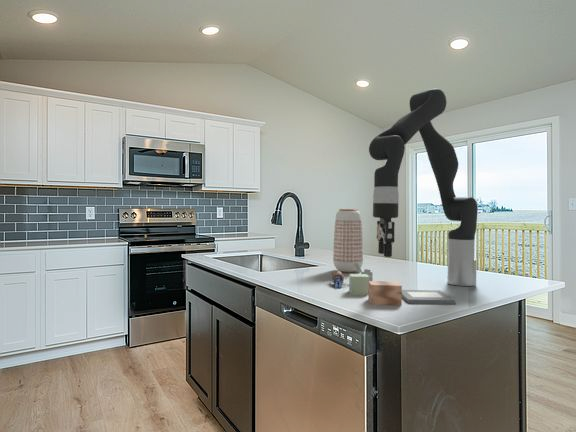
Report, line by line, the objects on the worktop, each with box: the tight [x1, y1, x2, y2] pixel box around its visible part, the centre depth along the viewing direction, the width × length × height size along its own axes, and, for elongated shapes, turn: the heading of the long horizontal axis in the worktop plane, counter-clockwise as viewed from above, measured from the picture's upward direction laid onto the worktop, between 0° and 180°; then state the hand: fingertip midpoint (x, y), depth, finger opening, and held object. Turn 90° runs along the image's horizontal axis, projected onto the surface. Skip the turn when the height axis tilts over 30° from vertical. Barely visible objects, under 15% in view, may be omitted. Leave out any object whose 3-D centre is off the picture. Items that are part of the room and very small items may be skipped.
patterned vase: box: [332, 208, 364, 274], centre depth 175 cm, size 13×13×28 cm
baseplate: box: [402, 289, 457, 305], centre depth 124 cm, size 14×14×1 cm
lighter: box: [354, 262, 374, 281], centre depth 149 cm, size 7×2×8 cm, turn 74°
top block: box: [348, 273, 369, 295], centre depth 132 cm, size 6×5×6 cm
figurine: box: [330, 270, 347, 289], centre depth 144 cm, size 6×5×12 cm
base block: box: [367, 280, 403, 306], centre depth 118 cm, size 9×6×6 cm
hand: (384, 255), depth 118 cm, fingers open, 8 cm apart
